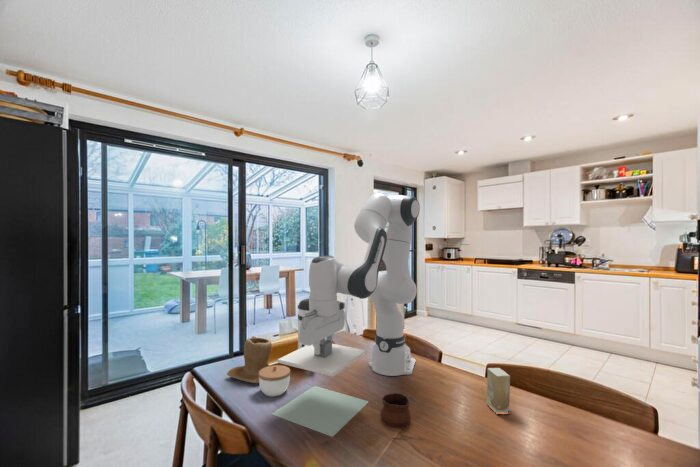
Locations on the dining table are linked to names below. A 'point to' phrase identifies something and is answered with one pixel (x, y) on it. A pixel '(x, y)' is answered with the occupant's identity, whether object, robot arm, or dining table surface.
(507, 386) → the skincare box
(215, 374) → the dining table surface
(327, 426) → the mat
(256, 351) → the brown boot
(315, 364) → the lid
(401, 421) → the ceramic pot
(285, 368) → the lidded jar
